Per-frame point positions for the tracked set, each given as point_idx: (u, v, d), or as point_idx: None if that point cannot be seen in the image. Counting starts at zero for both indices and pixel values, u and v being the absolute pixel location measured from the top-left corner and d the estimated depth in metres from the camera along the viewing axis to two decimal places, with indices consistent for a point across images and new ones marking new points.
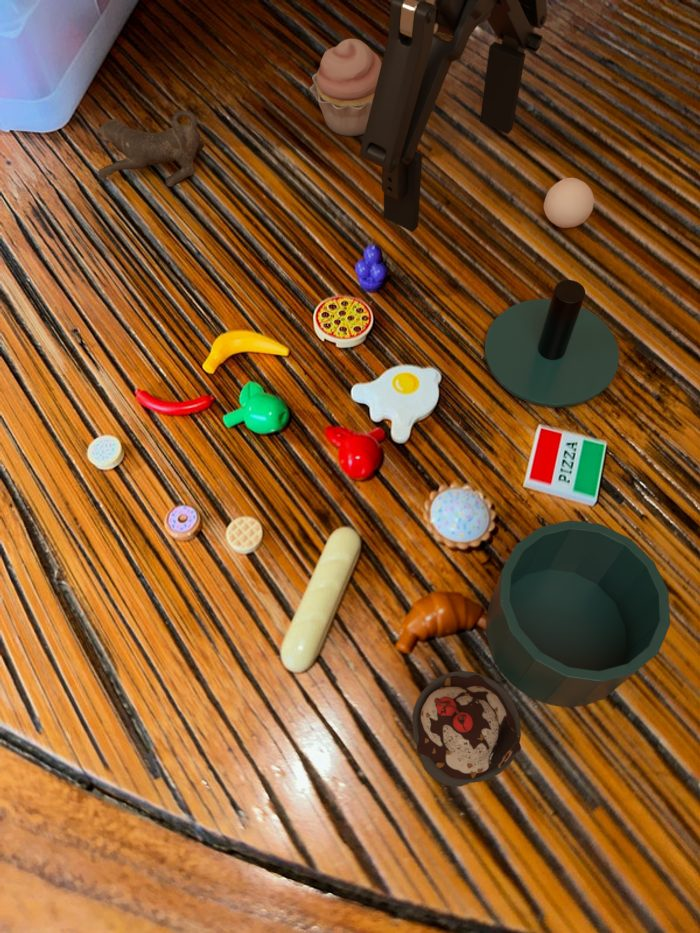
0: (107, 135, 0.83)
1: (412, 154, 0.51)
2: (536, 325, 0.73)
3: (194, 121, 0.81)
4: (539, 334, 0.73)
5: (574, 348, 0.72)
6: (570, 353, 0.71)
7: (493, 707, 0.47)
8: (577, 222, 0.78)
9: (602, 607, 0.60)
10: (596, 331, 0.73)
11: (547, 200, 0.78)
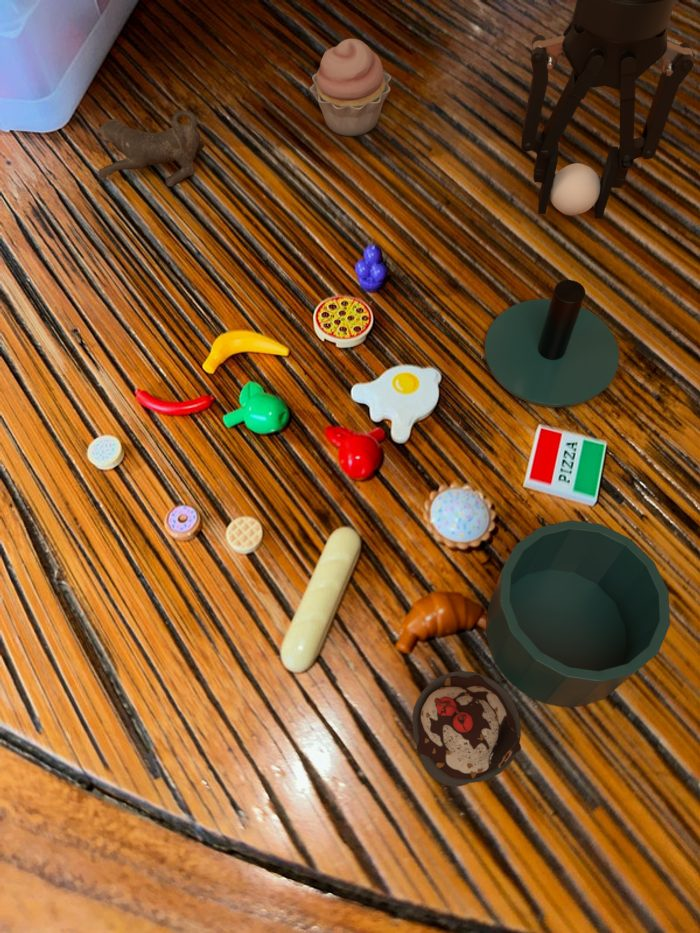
0: (107, 135, 0.83)
1: (546, 153, 0.72)
2: (536, 325, 0.73)
3: (194, 121, 0.81)
4: (539, 334, 0.73)
5: (574, 348, 0.72)
6: (570, 353, 0.71)
7: (493, 707, 0.47)
8: (583, 208, 0.76)
9: (602, 607, 0.60)
10: (596, 331, 0.73)
11: (552, 186, 0.76)
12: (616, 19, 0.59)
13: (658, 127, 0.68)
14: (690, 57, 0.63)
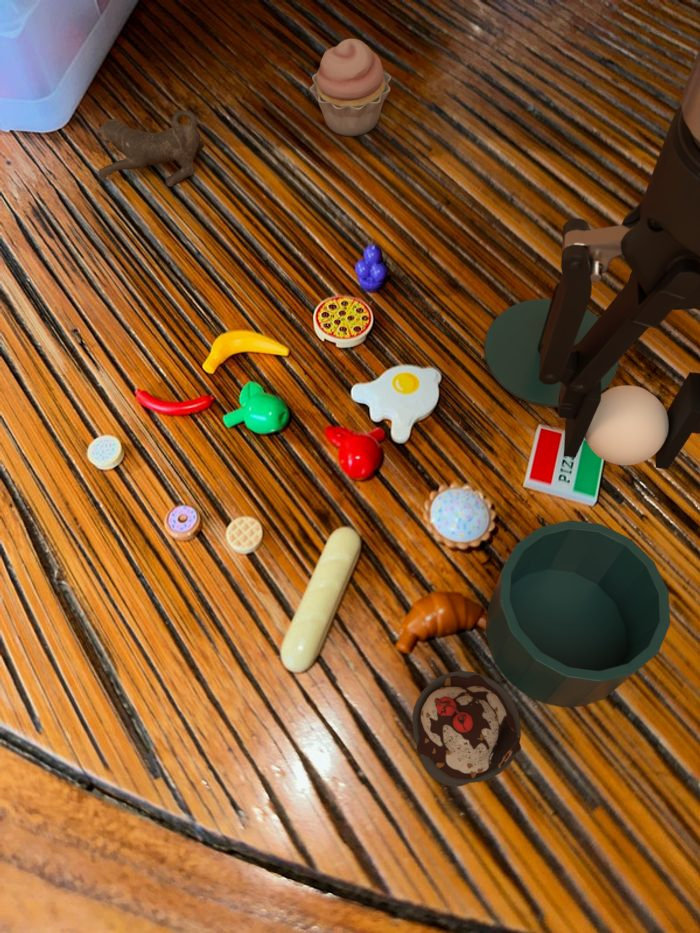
0: (107, 135, 0.83)
1: (581, 389, 0.42)
2: (536, 325, 0.73)
3: (194, 121, 0.81)
4: (539, 334, 0.73)
5: None
6: None
7: (493, 707, 0.47)
8: (640, 461, 0.46)
9: (602, 607, 0.60)
10: None
11: None
12: None
13: None
14: None
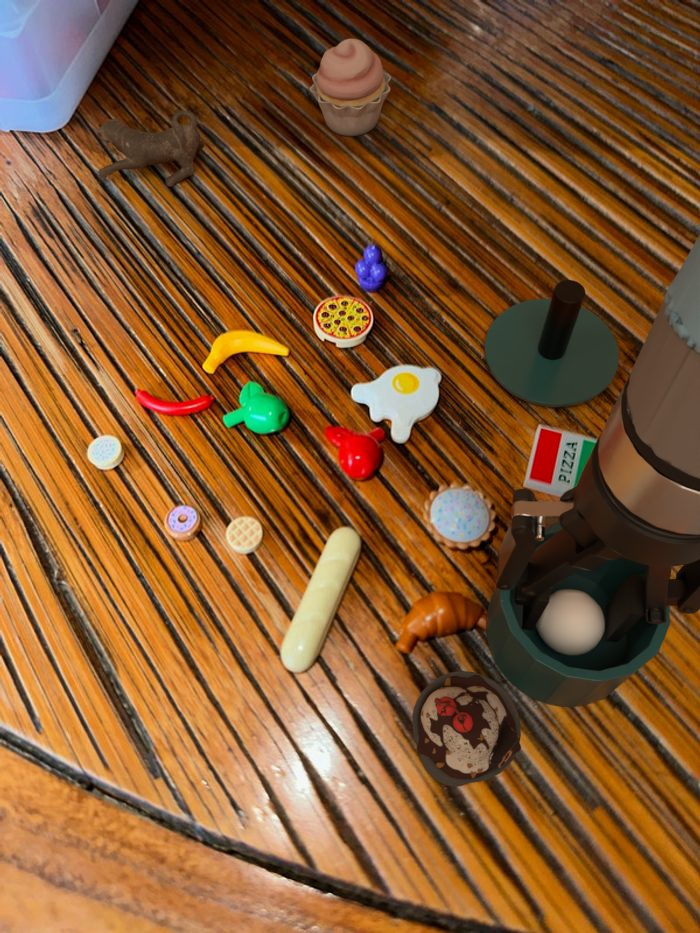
0: (107, 135, 0.83)
1: (531, 594, 0.50)
2: (536, 325, 0.73)
3: (194, 121, 0.81)
4: (539, 334, 0.73)
5: (574, 348, 0.72)
6: (570, 353, 0.71)
7: (493, 707, 0.47)
8: None
9: (602, 607, 0.60)
10: (596, 331, 0.73)
11: (540, 622, 0.56)
12: (646, 549, 0.36)
13: None
14: None
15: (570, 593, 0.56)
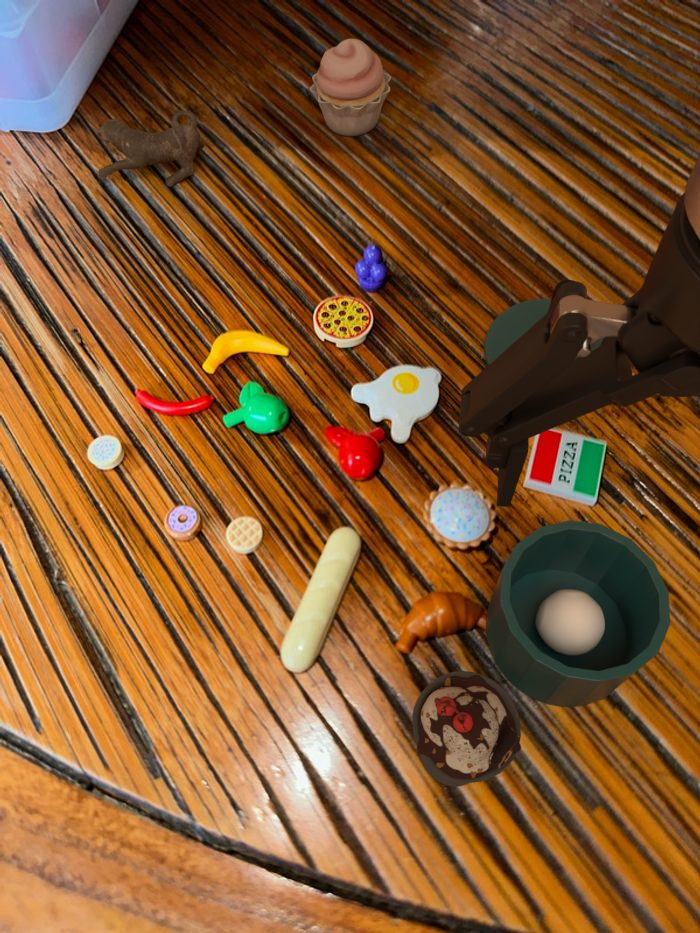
0: (107, 135, 0.83)
1: (506, 441, 0.39)
2: None
3: (194, 121, 0.81)
4: None
5: None
6: None
7: (493, 707, 0.47)
8: None
9: (602, 607, 0.60)
10: None
11: (540, 622, 0.56)
12: None
13: None
14: None
15: (570, 593, 0.56)
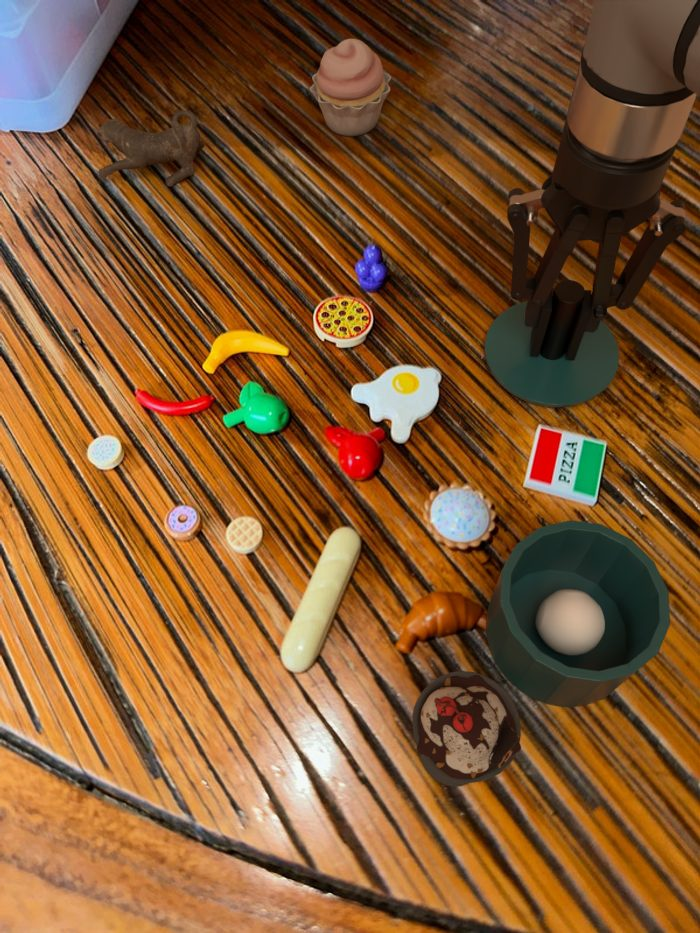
0: (107, 135, 0.83)
1: (538, 302, 0.65)
2: None
3: (194, 121, 0.81)
4: None
5: None
6: None
7: (493, 707, 0.47)
8: None
9: (602, 607, 0.60)
10: (596, 331, 0.73)
11: (540, 622, 0.56)
12: (601, 187, 0.51)
13: (638, 282, 0.61)
14: (683, 220, 0.56)
15: (570, 593, 0.56)
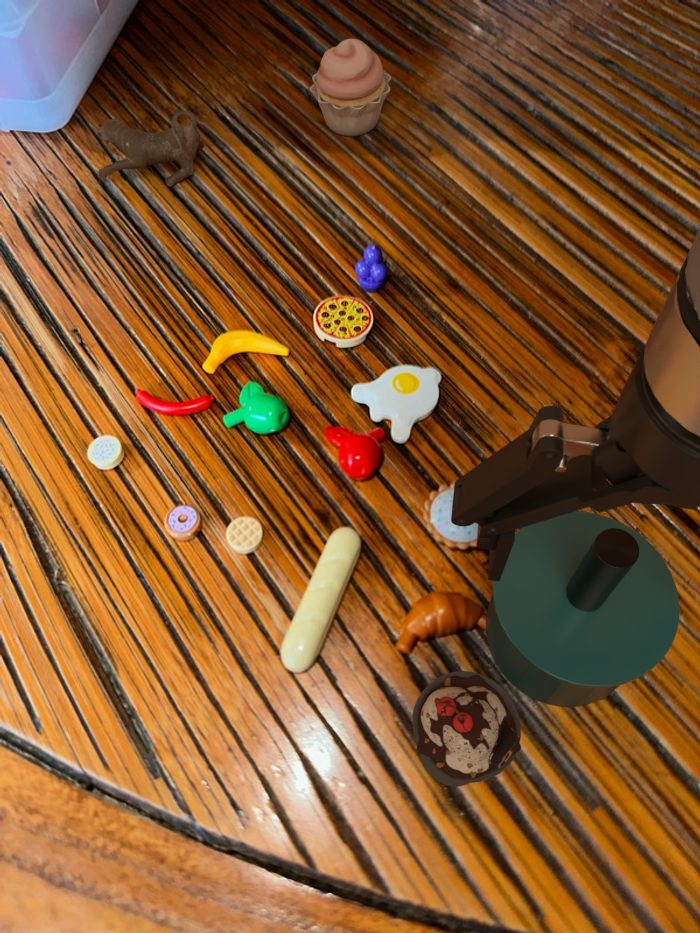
0: (107, 135, 0.83)
1: (494, 532, 0.42)
2: (563, 554, 0.53)
3: (194, 121, 0.81)
4: (568, 569, 0.53)
5: (617, 592, 0.52)
6: (611, 600, 0.52)
7: (493, 707, 0.47)
8: None
9: None
10: (646, 564, 0.53)
11: None
12: None
13: None
14: None
15: None
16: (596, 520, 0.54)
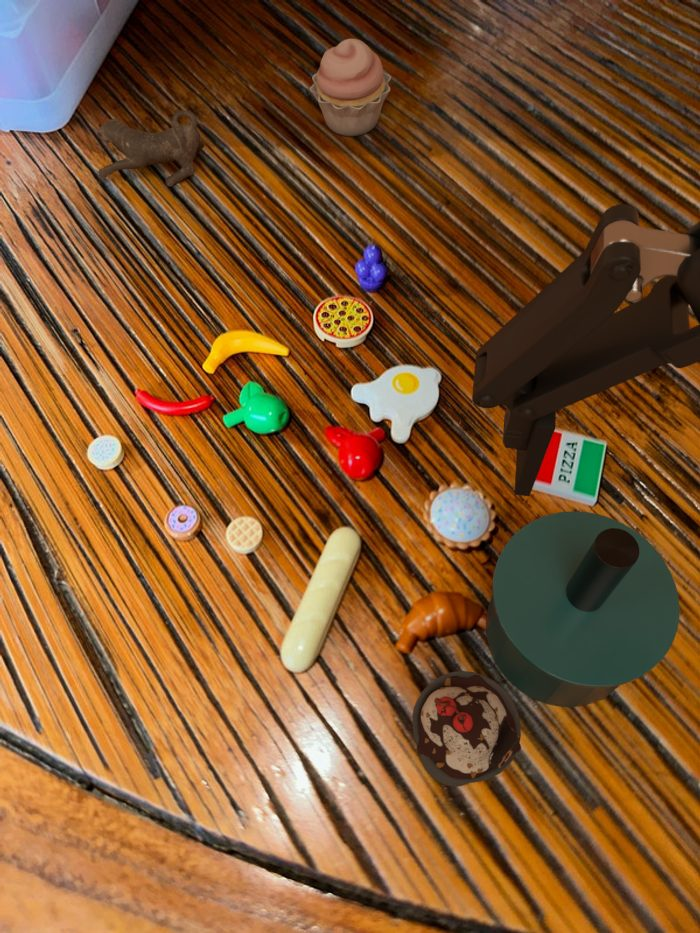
0: (107, 135, 0.83)
1: (529, 414, 0.32)
2: (563, 554, 0.53)
3: (194, 121, 0.81)
4: (568, 569, 0.53)
5: (617, 592, 0.52)
6: (611, 600, 0.52)
7: (493, 707, 0.47)
8: None
9: None
10: (646, 564, 0.53)
11: None
12: None
13: None
14: None
15: None
16: (596, 520, 0.54)
